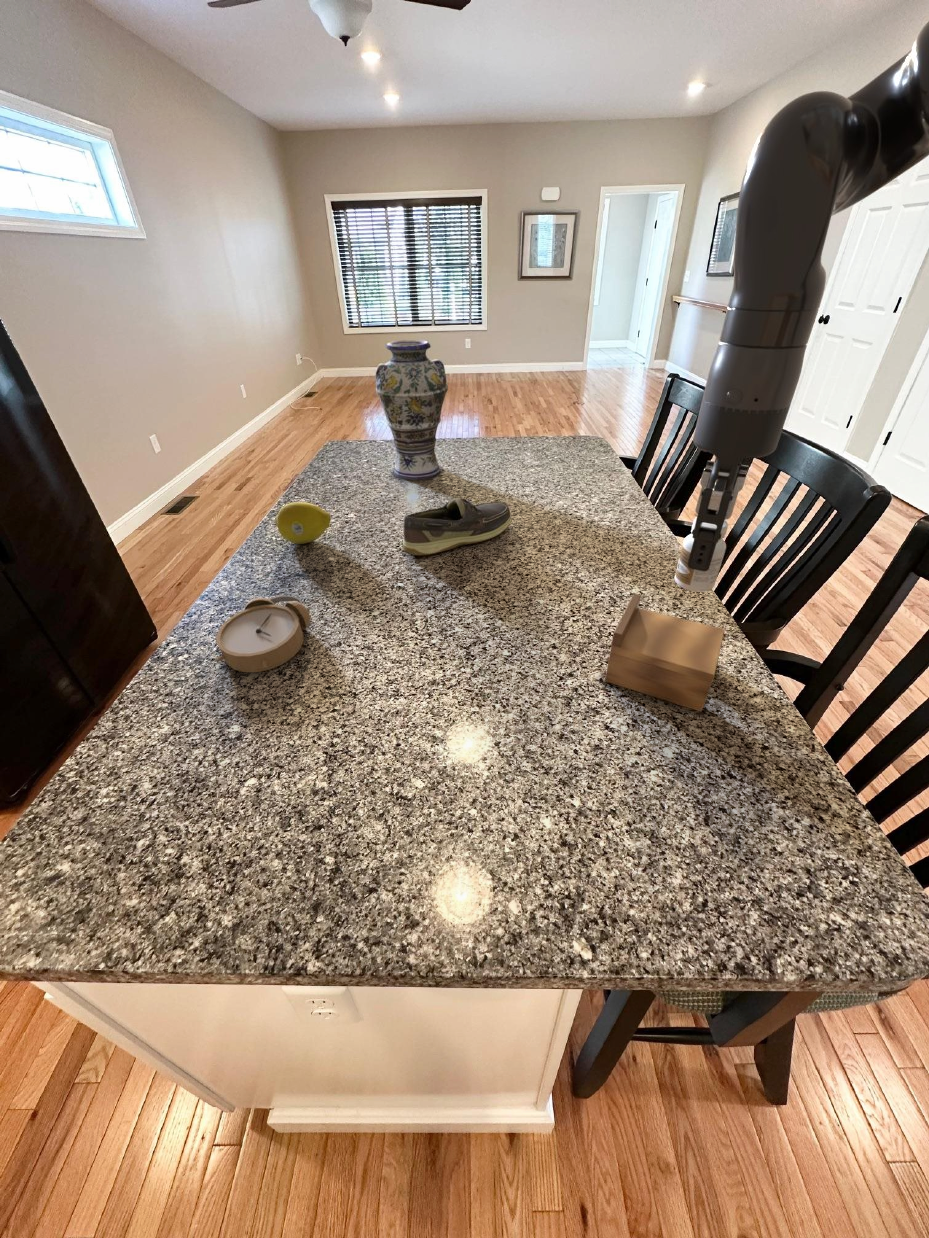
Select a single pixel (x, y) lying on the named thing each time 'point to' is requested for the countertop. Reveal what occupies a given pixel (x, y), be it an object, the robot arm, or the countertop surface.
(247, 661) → the alarm clock
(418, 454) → the vase
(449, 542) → the boat shoe
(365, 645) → the countertop surface
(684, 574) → the pill bottle
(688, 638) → the shelf
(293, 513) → the lemon
